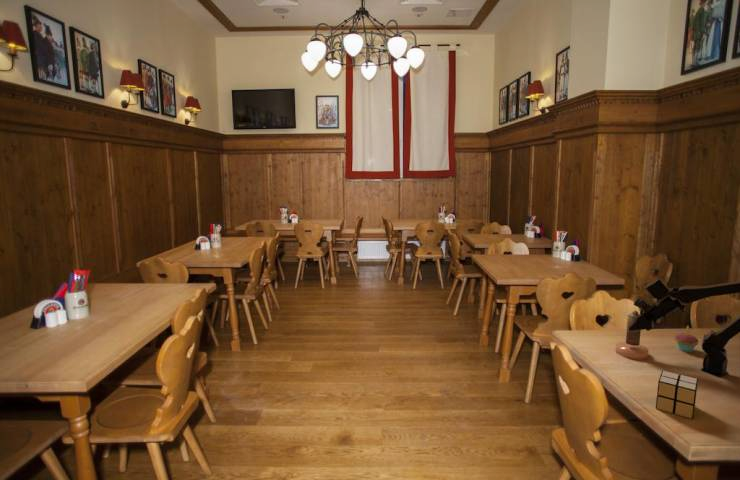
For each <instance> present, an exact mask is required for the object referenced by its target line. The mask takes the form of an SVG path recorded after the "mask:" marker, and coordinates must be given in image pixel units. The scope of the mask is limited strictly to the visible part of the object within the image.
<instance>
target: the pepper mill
mask: <svg viewBox="0 0 740 480" xmlns="http://www.w3.org/2000/svg"><path fill="white" fill-rule="evenodd" d="M639 315H640V313H639V312H638V310H633V311H632V312H630V313H629V314H628V315H627V324H626V335H625V336H626V337H625V342H626V343H627V344H629V345H634V346H638V345H641V344H640V342H641V331H642V330H633V331H630V330H629V328H630V327H631V326H632V325H633V324H634V323H635V322H636V321H637V316H639Z"/></svg>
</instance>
